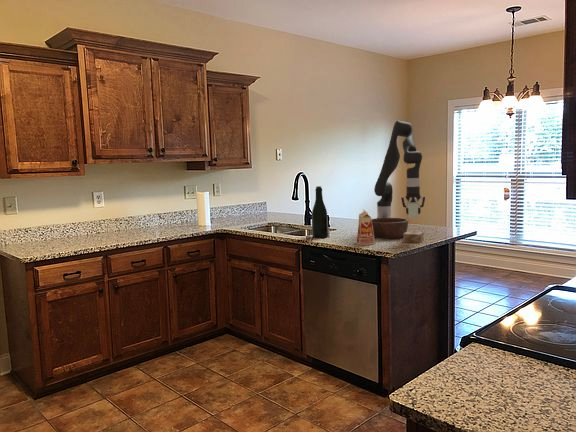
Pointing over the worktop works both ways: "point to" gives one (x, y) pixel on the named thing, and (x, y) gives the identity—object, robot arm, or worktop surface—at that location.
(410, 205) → the canister
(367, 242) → the milk carton
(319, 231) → the beer bottle
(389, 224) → the wooden bowl
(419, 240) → the walnut block
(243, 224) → the worktop surface
